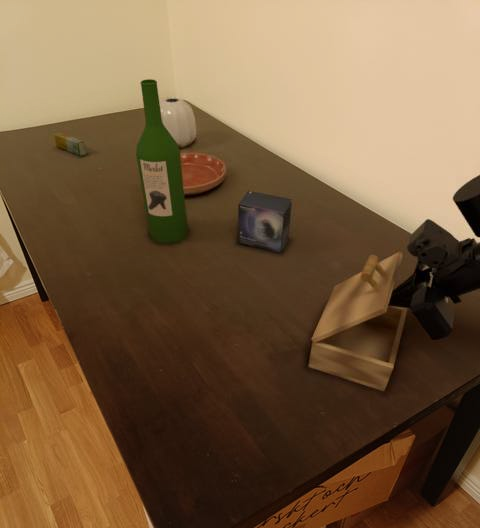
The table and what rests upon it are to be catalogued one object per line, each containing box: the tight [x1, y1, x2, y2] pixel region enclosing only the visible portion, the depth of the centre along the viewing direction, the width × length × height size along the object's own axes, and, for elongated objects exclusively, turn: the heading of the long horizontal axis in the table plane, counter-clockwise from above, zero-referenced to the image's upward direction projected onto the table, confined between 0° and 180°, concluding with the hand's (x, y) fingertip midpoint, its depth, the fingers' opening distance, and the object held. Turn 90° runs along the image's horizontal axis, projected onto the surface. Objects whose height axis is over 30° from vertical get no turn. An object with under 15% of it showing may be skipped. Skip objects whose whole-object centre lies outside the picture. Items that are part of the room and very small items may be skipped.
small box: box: [237, 190, 293, 254], centre depth 95 cm, size 11×6×10 cm, turn 68°
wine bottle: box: [135, 78, 189, 244], centre depth 90 cm, size 9×9×32 cm
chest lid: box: [310, 251, 404, 343], centre depth 67 cm, size 13×15×5 cm
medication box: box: [53, 132, 87, 157], centre depth 135 cm, size 12×3×4 cm, turn 54°
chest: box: [307, 306, 408, 392], centre depth 73 cm, size 13×15×6 cm
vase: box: [159, 96, 197, 149], centre depth 136 cm, size 14×14×13 cm
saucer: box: [180, 152, 227, 196], centre depth 120 cm, size 23×23×4 cm
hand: (384, 301), depth 66 cm, fingers closed
